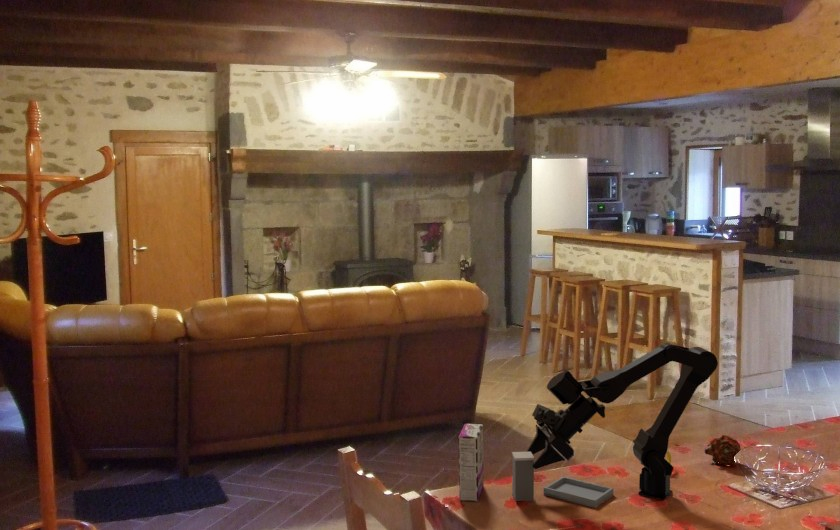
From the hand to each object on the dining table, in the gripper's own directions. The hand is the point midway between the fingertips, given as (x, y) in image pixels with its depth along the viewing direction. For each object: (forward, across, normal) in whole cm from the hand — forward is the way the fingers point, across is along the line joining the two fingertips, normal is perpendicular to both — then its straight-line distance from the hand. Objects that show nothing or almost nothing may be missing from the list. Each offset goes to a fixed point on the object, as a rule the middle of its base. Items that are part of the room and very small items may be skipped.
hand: (530, 461), depth 199 cm
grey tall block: (+8, 0, +5) cm, 9 cm away
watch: (-21, -18, +34) cm, 44 cm away
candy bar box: (+17, -4, -3) cm, 18 cm away
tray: (-2, -1, +15) cm, 15 cm away
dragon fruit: (-34, -21, +47) cm, 62 cm away
